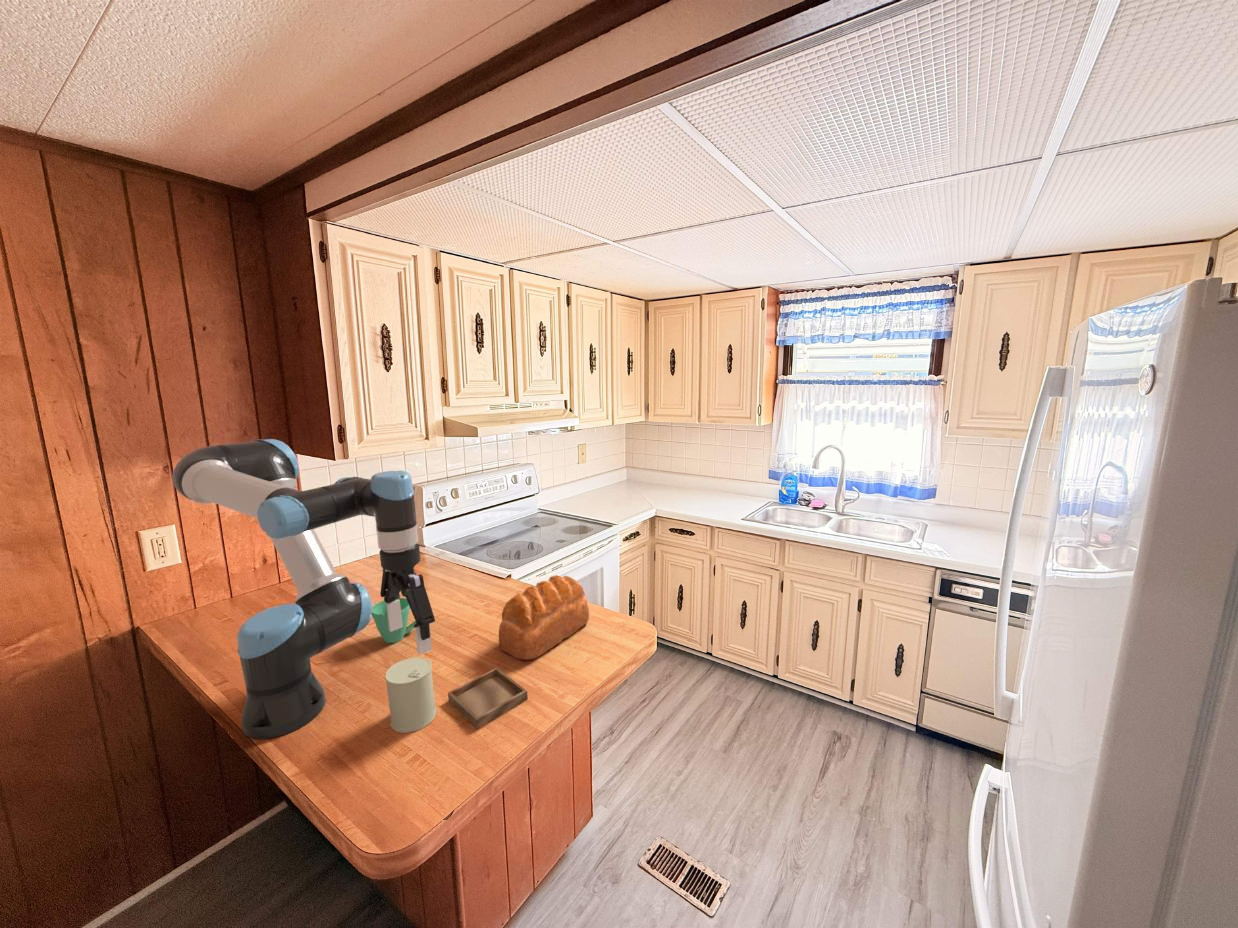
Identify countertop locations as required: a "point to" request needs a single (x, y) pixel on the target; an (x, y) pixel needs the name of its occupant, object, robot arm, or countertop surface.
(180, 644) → the countertop surface
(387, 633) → the mug
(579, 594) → the bread
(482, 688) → the tray
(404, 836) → the countertop surface
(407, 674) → the can
